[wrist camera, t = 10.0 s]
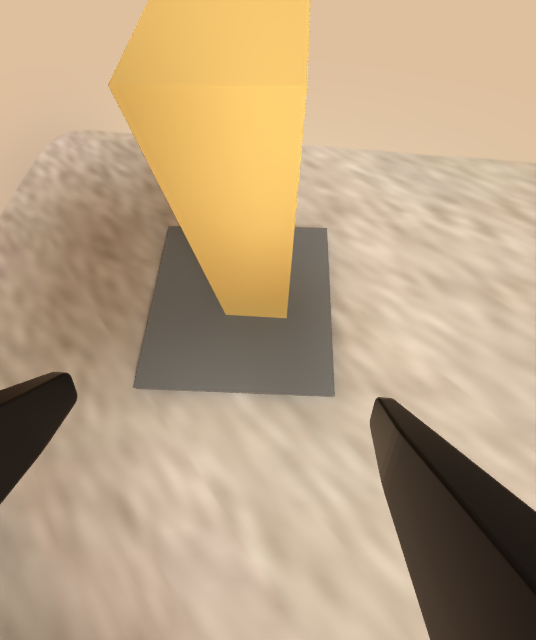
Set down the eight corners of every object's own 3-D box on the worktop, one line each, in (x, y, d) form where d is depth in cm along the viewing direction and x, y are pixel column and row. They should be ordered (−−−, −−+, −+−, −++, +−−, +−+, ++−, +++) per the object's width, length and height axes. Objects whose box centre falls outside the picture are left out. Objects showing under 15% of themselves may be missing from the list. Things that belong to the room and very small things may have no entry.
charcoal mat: (325, 233, 20) (326, 228, 19) (332, 396, 15) (334, 396, 15) (171, 231, 20) (168, 226, 20) (138, 388, 16) (132, 387, 15)
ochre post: (286, 318, 17) (307, 85, 5) (225, 314, 17) (107, 84, 5) (289, 265, 18) (310, -15, 6) (233, 262, 18) (153, -12, 7)
